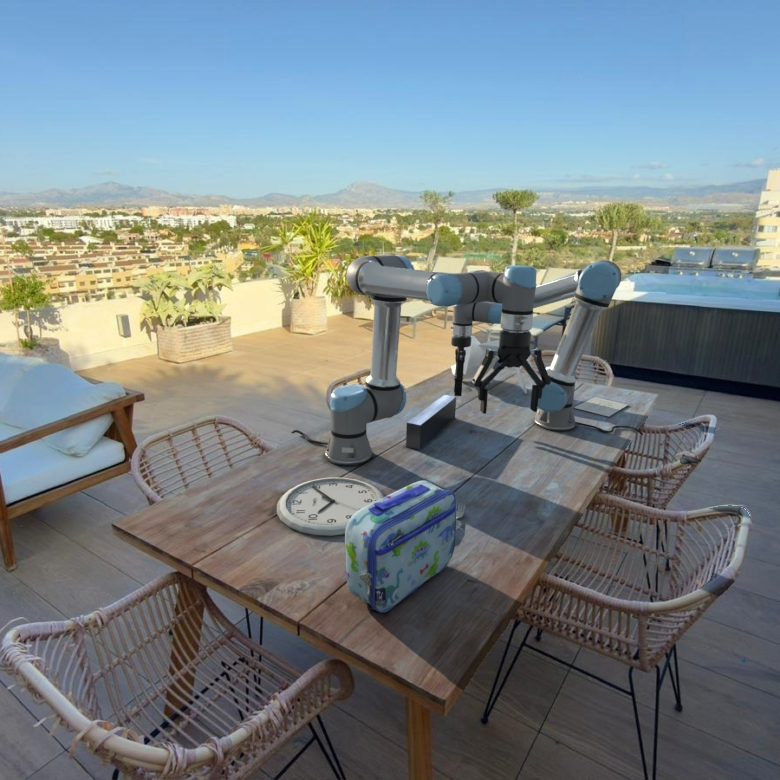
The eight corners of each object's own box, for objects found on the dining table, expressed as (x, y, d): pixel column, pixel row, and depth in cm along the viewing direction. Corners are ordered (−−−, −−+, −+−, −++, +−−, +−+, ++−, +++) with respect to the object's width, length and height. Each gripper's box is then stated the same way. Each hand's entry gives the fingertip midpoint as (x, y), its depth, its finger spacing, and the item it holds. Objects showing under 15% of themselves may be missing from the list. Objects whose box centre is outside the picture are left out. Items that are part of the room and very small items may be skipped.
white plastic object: (472, 423, 260) (450, 400, 235) (454, 348, 282) (432, 320, 258) (544, 398, 248) (529, 371, 223) (519, 323, 270) (503, 291, 245)
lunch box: (374, 626, 100) (375, 530, 93) (338, 598, 107) (337, 508, 101) (459, 568, 117) (465, 484, 111) (424, 547, 124) (427, 467, 118)
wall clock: (392, 527, 129) (268, 531, 127) (391, 533, 130) (269, 537, 127) (383, 473, 158) (282, 475, 155) (383, 478, 158) (282, 480, 156)
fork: (441, 539, 128) (441, 532, 127) (456, 508, 142) (456, 501, 141) (451, 541, 127) (452, 534, 126) (465, 510, 141) (466, 503, 141)
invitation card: (608, 416, 214) (573, 407, 224) (608, 416, 214) (573, 408, 224) (628, 404, 229) (594, 396, 238) (628, 405, 229) (594, 397, 238)
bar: (442, 416, 212) (444, 394, 209) (455, 418, 210) (456, 396, 207) (405, 446, 182) (406, 422, 179) (419, 449, 179) (420, 425, 177)
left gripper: (471, 333, 124) (465, 417, 130) (570, 332, 127) (560, 414, 133) (462, 327, 131) (457, 407, 137) (556, 326, 134) (547, 404, 141)
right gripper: (451, 330, 208) (447, 386, 215) (452, 339, 191) (448, 400, 198) (470, 331, 207) (466, 387, 214) (472, 340, 191) (468, 401, 198)
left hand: (508, 411), depth 135 cm, fingers open, 13 cm apart
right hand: (457, 393), depth 206 cm, fingers open, 4 cm apart
